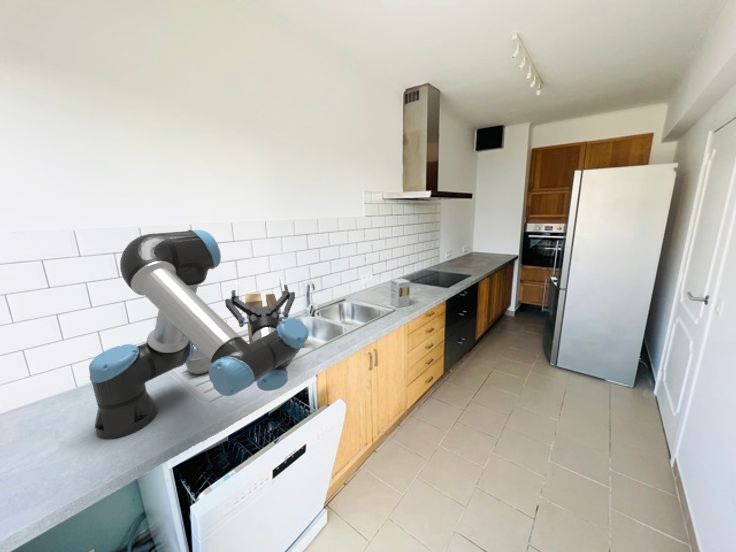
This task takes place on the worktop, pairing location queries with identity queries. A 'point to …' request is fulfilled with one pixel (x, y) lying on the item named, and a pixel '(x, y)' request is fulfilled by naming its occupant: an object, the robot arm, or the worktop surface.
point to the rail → (271, 302)
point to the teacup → (198, 363)
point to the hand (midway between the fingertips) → (259, 281)
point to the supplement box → (400, 292)
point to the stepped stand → (254, 302)
